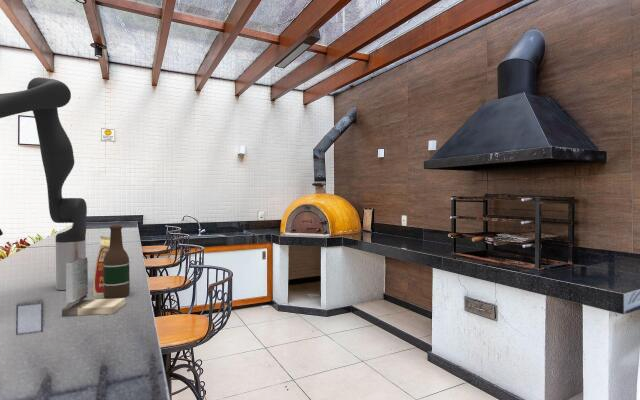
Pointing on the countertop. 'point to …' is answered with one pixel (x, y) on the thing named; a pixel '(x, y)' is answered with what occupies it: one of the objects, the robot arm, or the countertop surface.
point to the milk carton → (100, 267)
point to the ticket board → (94, 307)
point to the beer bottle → (116, 267)
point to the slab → (76, 281)
